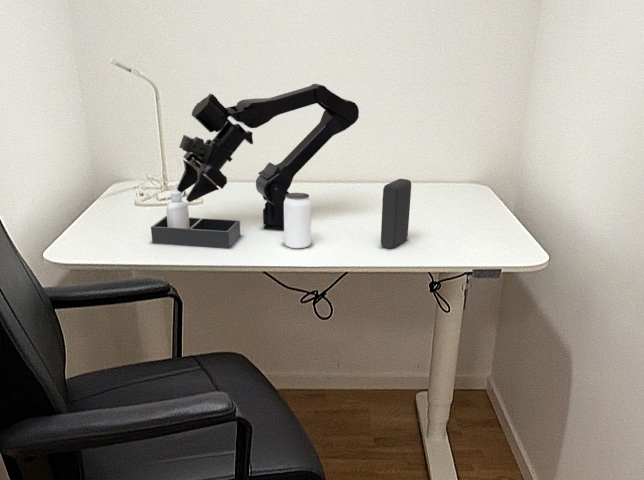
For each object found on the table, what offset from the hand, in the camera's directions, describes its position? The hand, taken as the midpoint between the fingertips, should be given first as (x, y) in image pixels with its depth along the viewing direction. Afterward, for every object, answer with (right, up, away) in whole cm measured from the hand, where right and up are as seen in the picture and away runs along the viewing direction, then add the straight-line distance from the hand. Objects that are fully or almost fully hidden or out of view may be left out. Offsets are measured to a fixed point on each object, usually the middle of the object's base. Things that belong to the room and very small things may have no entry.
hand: (182, 196), depth 180 cm
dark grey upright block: (+51, -11, +3) cm, 53 cm away
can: (+28, -12, +1) cm, 30 cm away
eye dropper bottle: (-2, -9, +4) cm, 10 cm away
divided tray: (+3, -10, +4) cm, 11 cm away
